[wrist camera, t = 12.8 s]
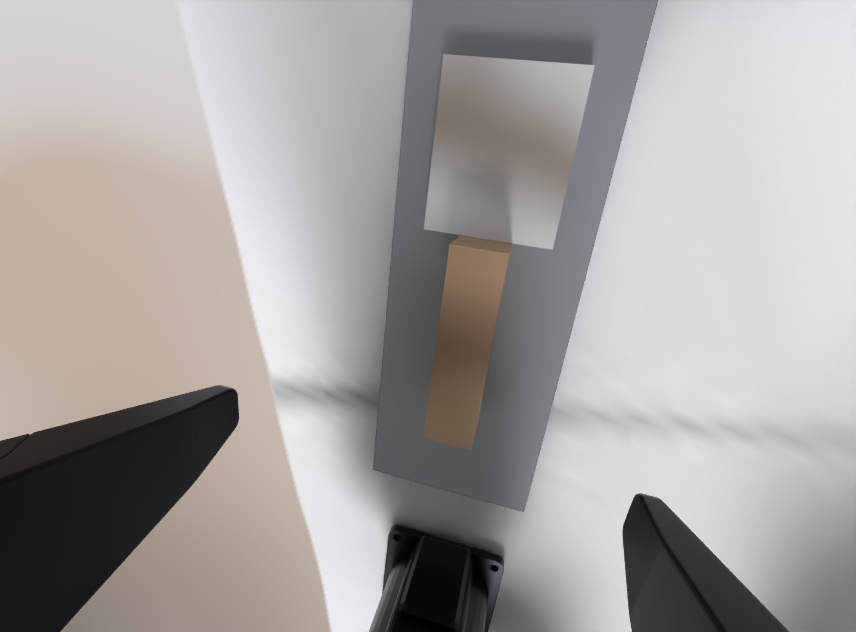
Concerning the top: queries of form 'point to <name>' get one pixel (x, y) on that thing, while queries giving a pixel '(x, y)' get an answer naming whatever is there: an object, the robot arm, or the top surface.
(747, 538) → the top surface
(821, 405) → the top surface
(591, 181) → the mat
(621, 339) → the top surface
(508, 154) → the turner
